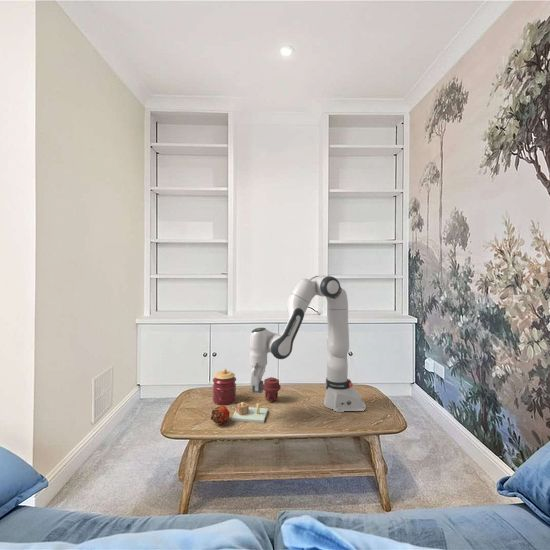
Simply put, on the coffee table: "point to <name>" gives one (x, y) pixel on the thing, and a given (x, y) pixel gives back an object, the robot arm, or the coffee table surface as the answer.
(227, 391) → the canister
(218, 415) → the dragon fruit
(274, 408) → the coffee table surface
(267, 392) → the mechanical component
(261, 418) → the gear board
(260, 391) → the loose gear
